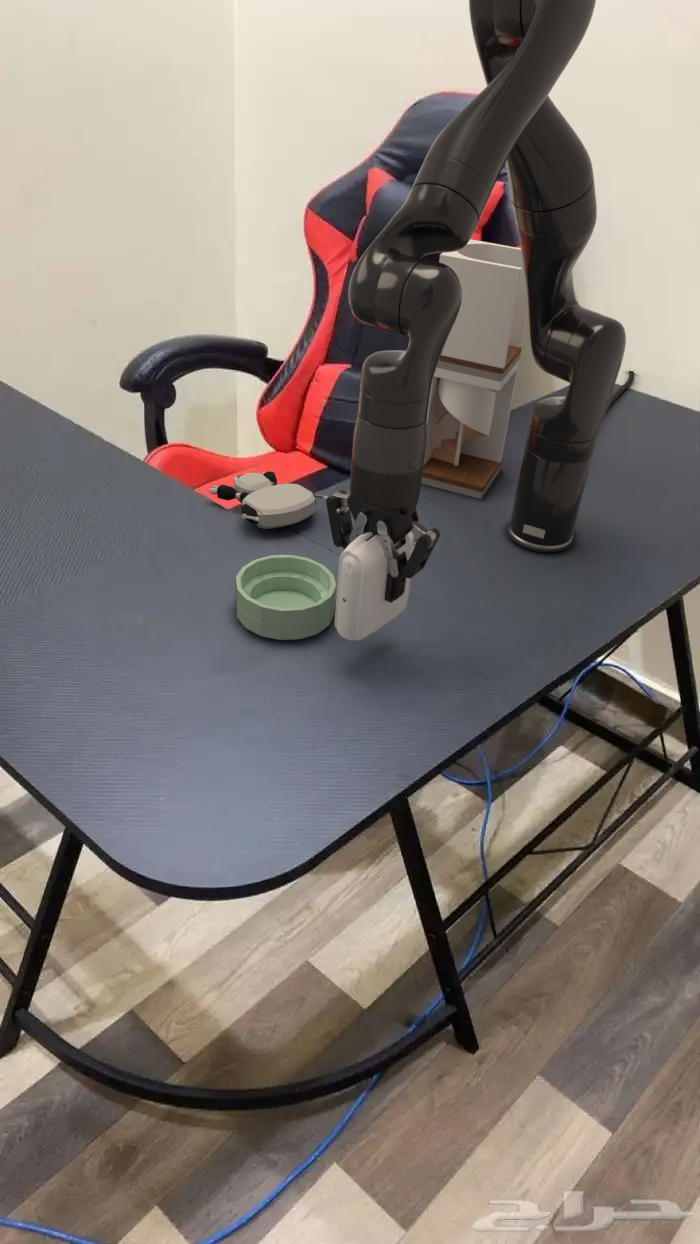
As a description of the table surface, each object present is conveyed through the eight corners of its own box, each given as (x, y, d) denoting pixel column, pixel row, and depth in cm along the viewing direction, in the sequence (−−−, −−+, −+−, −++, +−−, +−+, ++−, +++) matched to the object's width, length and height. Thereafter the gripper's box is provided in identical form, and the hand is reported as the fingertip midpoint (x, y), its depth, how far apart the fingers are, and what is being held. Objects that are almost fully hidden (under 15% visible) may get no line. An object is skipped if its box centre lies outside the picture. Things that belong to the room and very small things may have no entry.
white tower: (412, 481, 151) (440, 254, 131) (434, 455, 159) (463, 238, 139) (480, 498, 148) (520, 269, 127) (499, 471, 156) (539, 251, 136)
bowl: (278, 576, 127) (279, 544, 124) (352, 611, 121) (355, 579, 118) (215, 616, 118) (215, 583, 115) (292, 656, 113) (293, 622, 110)
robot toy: (204, 506, 142) (260, 545, 132) (202, 478, 139) (259, 516, 129) (272, 486, 148) (330, 522, 138) (271, 459, 146) (331, 494, 136)
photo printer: (356, 647, 107) (365, 554, 99) (328, 630, 109) (335, 538, 102) (411, 610, 113) (424, 520, 106) (383, 595, 115) (394, 506, 108)
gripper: (465, 465, 98) (444, 600, 108) (353, 423, 104) (343, 555, 114) (427, 490, 93) (408, 630, 103) (312, 444, 99) (304, 580, 109)
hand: (374, 589), depth 109 cm, fingers closed on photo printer, 4 cm apart
